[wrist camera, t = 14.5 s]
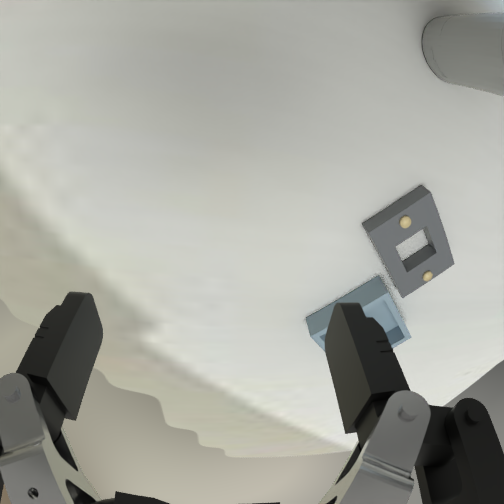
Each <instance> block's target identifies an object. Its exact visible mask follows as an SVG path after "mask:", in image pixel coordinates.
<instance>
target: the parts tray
mask: <svg viewBox="0 0 504 504" xmlns="http://www.w3.org/2000/svg"><path fill="white" fill-rule="evenodd" d="M343 302H358V303H360V305H361V307H362V309H363V311H364V313H365V316H367V317H373V318H374V319H375V320H376V321H377V322H378V323H379V324H380V325H381V326H382V327H383V328H384V331H385V333H386V335H387V337H388V339H389V342H390V344H391V346H392V348H394V347H396V346H398V345H399V344H401V343H403V342H404V341H406V340H408V339H410V338H411V335H410V333H409V331H408V329H407V327H406V325H405V323H404V321H403V319H402V317H401V315H400V313H399V311H398V309H397V308H396V306H395V304H394V302H393V300H392V298H391V296H390V294H389V292H388V291H387V289H386V287H385V285H384V284H383V282H382V280H381V278H380V277H379V275H378V276H377V277H375V278H374V279H372V280H370V281H369V282H367V283H365V284H364V285H362V286H360V287H359V288H357V289H355V290H354V291H352V292H350V293H349V294H347V295H345V296H344V297H342V298H340V299H338V300H337V301H335V302H333V303H331V304H330V305H328V306H326V307H324V308H323V309H321V310H319V311H317V312H316V313H314V314H312V315H310V316H308V317H307V318H306V320H307V325H308V329H309V333H310V337H311V338H312V339H313V340H314V341H315V342H316V343H317V344H318V345H319V346H320V347H321V348H322V349H323V350H324V351H325V335H326V332H327V329H328V325H329V322H330V319H331V315H332V312H333V309H334V306H335V304H336V303H343Z"/></svg>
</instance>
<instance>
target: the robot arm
mask: <svg viewBox="0 0 504 504" xmlns="http://www.w3.org/2000/svg"><path fill="white" fill-rule="evenodd" d="M422 44H423V51H424V56H425V58H426V60H427V63H428V65H429V66H430V68H431V70H432V71H433V72H434V73H435V74H436V75H437V76H438V77H439V78H440V79H442V80H444V81H445V82H447V83H451V84H455V85H460V86H465V87H469V88H473V89H477V90H482V91H486V92H490V93H493V94H497V95H501V96H504V13H480V14H465V15H453V16H445V17H437V18H435V19H433V20H432V21H430V22H429V23H428V25H427V26H426V28H425V30H424V33H423V39H422ZM102 339H103V328H102V324H101V321H100V318H99V315H98V312H97V308H96V305H95V302H94V298H93V296H92V294H90V293H83V292H69V293H68V294H67V296H66V297H65V299H64V301H63V303H62V304H61V306H60V305H56V306H55V307H54V308H53V309H52V310H51V311H50V312H49V313H48V314H46V316H45V318H44V319H43V321H42V323H41V325H40V328H38V330H37V332H36V334H35V338H33V340H32V341H31V343H30V345H29V347H28V350H27V351H26V353H25V355H24V357H23V359H22V361H21V363H20V365H19V367H18V370H17V371H16V373H10V374H7V375H5V376H3V377H2V378H0V501H1V496H2V490H3V485H4V484H5V487H6V490H7V493H8V496H9V498H10V501H11V504H169V503H166V502H164V501H161V500H158V499H155V498H151V497H144V496H138V495H132V494H127V493H121V492H117V491H116V493H115V498H111V499H105V500H101V498H100V496H99V495H98V493H97V491H96V490H95V488H94V487H93V486H92V484H91V483H90V482H89V481H88V479H87V478H86V476H85V475H84V473H83V471H82V469H81V467H80V465H79V463H78V460H77V458H76V456H75V454H74V452H73V449H72V447H71V445H70V443H69V440H68V438H67V436H66V433H65V431H64V429H63V427H62V424H63V420H64V418H66V419H71V420H76V418H77V415H78V412H79V408H80V405H81V402H82V399H83V396H84V393H85V389H86V386H87V383H88V380H89V377H90V374H91V371H92V369H93V366H94V363H95V360H96V357H97V354H98V352H99V349H100V346H101V343H102ZM325 353H326V357H327V360H328V364H329V368H330V372H331V376H332V380H333V384H334V388H335V392H336V396H337V400H338V404H339V409H340V413H341V417H342V421H343V426H344V430H345V434H347V433H355V432H357V435H358V439H359V440H358V441H357V443H356V445H355V447H354V448H353V450H352V452H351V454H350V456H349V458H348V459H347V461H346V463H345V465H344V466H343V468H342V470H341V471H340V473H339V475H338V477H337V478H336V480H335V481H334V483H333V485H332V486H331V488H330V489H329V491H328V492H327V493H326V494H325V496H324V497H323V498H322V500H321V501H320V502H319V504H407V501H408V499H409V497H410V495H411V492H412V489H413V486H414V479H412V478H411V472H412V469H413V467H414V466H415V470H416V474H417V479H418V483H419V488H420V492H421V498H422V503H423V504H504V454H503V451H502V448H501V445H500V442H499V439H498V437H497V434H496V432H495V429H494V426H493V424H492V421H491V419H490V416H489V414H488V411H487V409H486V408H485V406H484V405H483V404H482V403H480V402H479V401H477V400H475V399H472V398H465V399H462V400H460V401H459V402H458V403H457V404H456V405H455V406H454V408H450V407H440V406H432V405H428V403H427V401H426V400H425V399H424V398H423V397H422V396H421V395H419V394H417V393H415V392H413V391H410V389H409V386H408V384H407V381H406V379H405V377H404V374H403V372H402V369H401V367H400V365H399V362H398V360H397V358H396V355H395V353H393V348H392V346H391V344H390V342H389V339H388V337H387V335H386V333H385V331H384V328H383V327H382V326H381V325H380V324H379V323H378V322H377V321H376V320H375V319H374V318H373V317H366V316H365V313H364V311H363V309H362V307H361V305H360V303H358V302H343V303H336V304H335V306H334V309H333V312H332V315H331V319H330V322H329V325H328V329H327V332H326V335H325ZM256 504H280V502H278V503H256Z"/></svg>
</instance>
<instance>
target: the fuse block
mask: <svg viewBox="0 0 504 504" xmlns="http://www.w3.org/2000/svg"><path fill="white" fill-rule="evenodd" d="M362 225H363V227H364V228H365V230H366V232H367V234H368V236H369V237H370V239H371V241H372V243H373V245H374V246H375V248H376V250H377V252H378V254H379V256H380V257H381V259H382V261H383V263H384V265H385V267H386V269H387V271H388V273H389V275H390V276H391V278H392V280H393V282H394V284H395V286H396V288H397V290H398V292H399V293H400V295H401V297H402V298H404V297H405V296H407V295H408V294H410V293H412V292H413V291H415V290H416V289H418V288H419V287H421V286H422V285H424V284H426V283H427V282H429V281H430V280H432V279H433V278H435V277H436V276H438V275H439V274H441V273H442V272H443V271H445V270H446V269H448V268H449V267H451V266H452V265H454V261H453V257H452V254H451V250H450V247H449V244H448V240H447V237H446V234H445V231H444V228H443V225H442V222H441V219H440V216H439V213H438V210H437V208H436V205H435V202H434V199H433V197H432V194H431V192H430V191H429V190H427V189H426V188H425V187H424V186H422V185H421V186H419V187H418V188H416V189H415V190H413V191H412V192H410V193H409V194H407V195H406V196H404V197H403V198H401V199H400V200H398V201H396V202H395V203H393V204H392V205H390V206H389V207H387V208H386V209H384V210H383V211H381V212H380V213H378V214H376V215H375V216H373V217H372V218H370V219H369V220H367V221H366V222H364V223H362ZM421 229H423V230H424V232H425V235H426V237H427V240H428V243H429V244H428V245H427V246H425V247H424V248H422V249H421V250H419V251H418V252H416V253H415V254H413V255H412V256H410V257H409V258H407V259H405V260H404V261H401V259H400V256H399V254H398V252H397V250H396V248H395V247H396V246H397V245H399V244H400V243H402V242H403V241H405V240H406V239H408V238H409V237H411V236H412V235H414V234H415V233H417V232H418V231H420V230H421Z"/></svg>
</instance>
